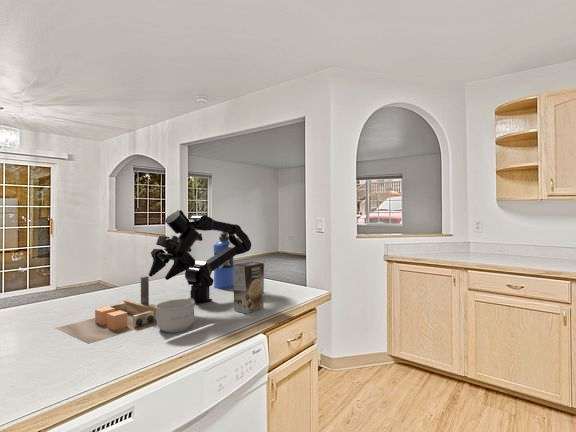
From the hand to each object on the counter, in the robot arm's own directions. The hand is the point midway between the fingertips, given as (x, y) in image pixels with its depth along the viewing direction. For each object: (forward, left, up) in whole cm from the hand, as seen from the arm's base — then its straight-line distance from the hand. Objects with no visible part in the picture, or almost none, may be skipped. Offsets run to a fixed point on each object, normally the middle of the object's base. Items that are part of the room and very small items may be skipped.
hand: (157, 277), depth 115 cm
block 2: (+16, +3, -11) cm, 20 cm away
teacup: (+5, +18, -12) cm, 22 cm away
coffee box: (-21, +22, -12) cm, 33 cm away
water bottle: (-41, -11, -12) cm, 44 cm away
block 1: (+16, -4, -11) cm, 20 cm away
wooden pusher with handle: (+8, 0, -11) cm, 14 cm away
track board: (+11, 0, -12) cm, 17 cm away
